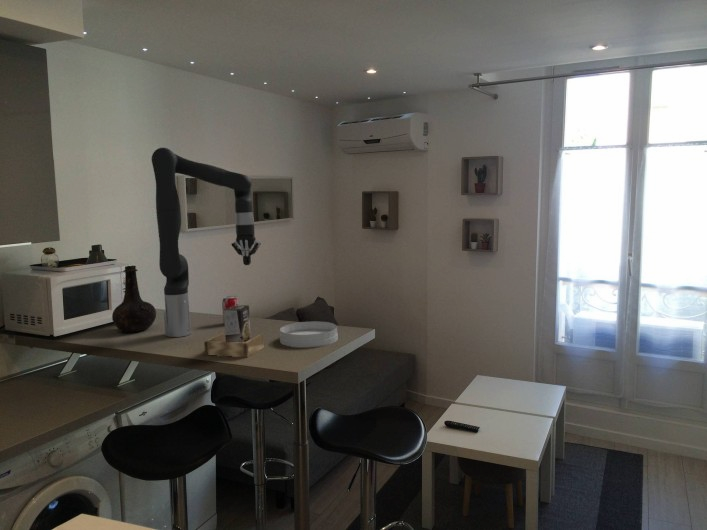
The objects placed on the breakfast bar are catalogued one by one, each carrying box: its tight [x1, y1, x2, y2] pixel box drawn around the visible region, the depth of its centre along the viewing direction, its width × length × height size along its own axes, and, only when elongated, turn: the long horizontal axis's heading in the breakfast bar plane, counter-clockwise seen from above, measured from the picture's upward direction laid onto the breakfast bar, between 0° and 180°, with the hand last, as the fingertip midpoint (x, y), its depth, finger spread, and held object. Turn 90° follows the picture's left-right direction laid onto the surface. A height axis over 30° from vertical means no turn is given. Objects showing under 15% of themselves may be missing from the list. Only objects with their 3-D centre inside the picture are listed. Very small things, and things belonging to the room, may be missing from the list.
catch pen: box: [203, 332, 265, 358], centre depth 200 cm, size 16×13×5 cm
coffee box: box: [224, 304, 252, 342], centre depth 199 cm, size 9×6×16 cm
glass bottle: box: [111, 265, 157, 333], centre depth 239 cm, size 18×18×28 cm
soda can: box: [221, 295, 240, 324], centre depth 246 cm, size 7×7×12 cm
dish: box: [279, 320, 339, 348], centre depth 213 cm, size 22×22×5 cm
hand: (247, 264), depth 233 cm, fingers closed
